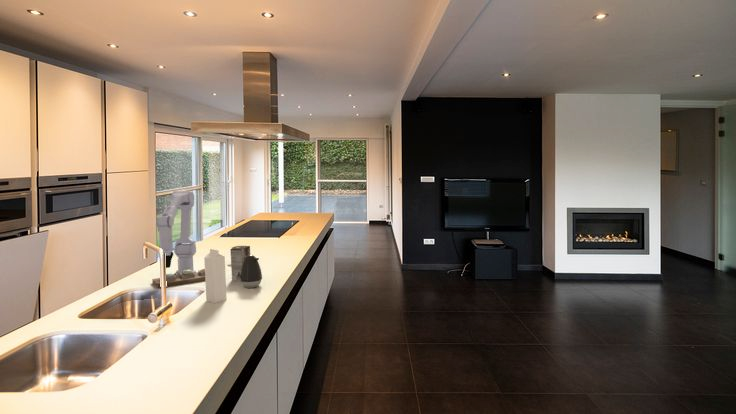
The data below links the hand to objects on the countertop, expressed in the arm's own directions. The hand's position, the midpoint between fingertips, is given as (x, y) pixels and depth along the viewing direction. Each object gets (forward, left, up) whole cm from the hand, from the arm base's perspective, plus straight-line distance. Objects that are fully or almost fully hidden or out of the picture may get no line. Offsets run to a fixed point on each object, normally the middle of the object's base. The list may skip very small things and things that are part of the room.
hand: (167, 267), depth 215 cm
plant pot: (-26, +46, -8) cm, 53 cm away
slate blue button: (0, 0, -6) cm, 6 cm away
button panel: (0, +9, -8) cm, 12 cm away
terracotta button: (0, +18, -6) cm, 19 cm away
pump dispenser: (+31, +30, -8) cm, 44 cm away
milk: (+42, +10, -8) cm, 44 cm away
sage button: (0, +9, -5) cm, 10 cm away
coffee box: (+13, +32, -8) cm, 35 cm away
